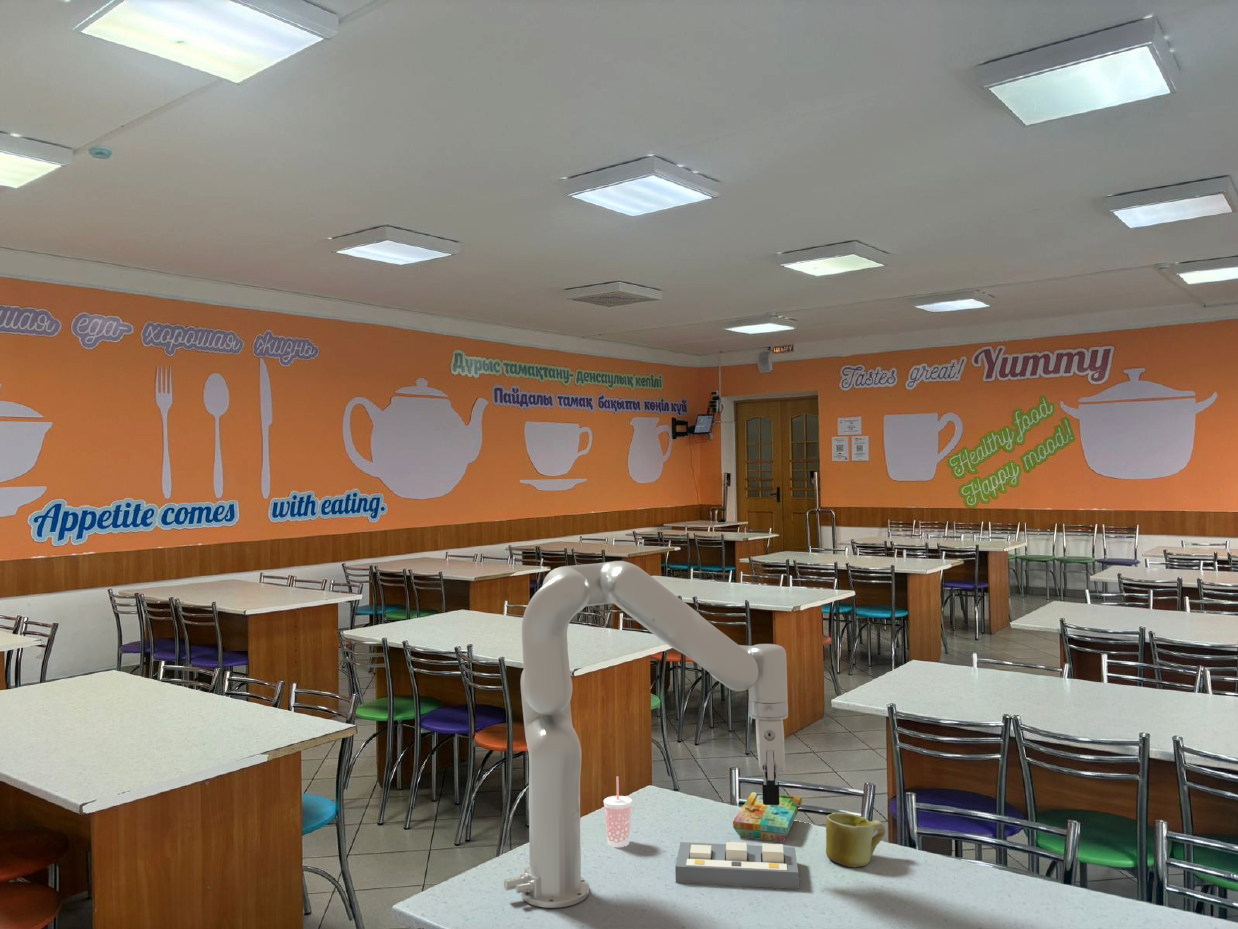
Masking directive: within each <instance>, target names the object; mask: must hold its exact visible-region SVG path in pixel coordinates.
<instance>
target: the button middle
mask: <svg viewBox="0 0 1238 929" xmlns="http://www.w3.org/2000/svg"><path fill="white" fill-rule="evenodd" d="M725 844H726V861H745V862H747V845H748V842H740V841H739V842H738V841H737V842H736V841H726V843H725Z"/></svg>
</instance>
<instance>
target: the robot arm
mask: <svg viewBox="0 0 1238 929" xmlns="http://www.w3.org/2000/svg"><path fill="white" fill-rule="evenodd" d="M608 604H614V605H615V606H616V607H618V608H619V609H620V610H622V611H623V612H624V613H626V614H627V615H628V616H629V617H631V618H632V619H633V620H634V621H635V622H637V623H639V624H640V625H641V626H643V627H644V628H645V629H646V630H648V631H649V632H650V633H652V635H654V636H655V637H657V638H658V639H659V640H661V641H662V642H664V643H665V644H666V645H667V646H669V647H671V648H672V649H674V650H676V651H677V652H679V653H681V654H682V655H684V656H686V657H688V658H689V659H690V660H692V661H693V662H694V663H695V664H697V665H699V666H700V667H701V668H703V669H704V670H706V671H707V672H708V673H709V675H711V677H712V678H714V679H715V680H716V681H717V682H719V683H720V684H722V685H723V686H725V687H726V688H727V689H729V690H732V691H735V692H743V691H747V690H748V706H749V707H748V714H749V718H751V719H753V720H755V735H756V736H755V739H756V741H755V742H756V752H757V760H758V766H759V767H758V768H759V771H760V772H762V775H763V776H762V780H763V781H761V782H762V783H761V786H762V787H761V789H762V790H761V791H762V792H761V793H763V804H764V805H779V795H780V782H779V780H778V778H779V776H778V774H779V773H778V772H779V771H780V772H781V773H784V772H786V758H785V757H786V756H785V755H786V753H785V730H784V720H786V719H788V718H789V705H788V704H789V703H788V702H789V700H788V697H789V696H788V670H787V668H788V667H787V666H788V664H787V653H786V652H787V650H786V649H785V648H784V647H783V646H782V645H779V644H776V643H775V644H773V643H758V644H754V645H743V644H742V645H741V644H738V643H737V642H735V641H734V640H732V639H731V638H730V637H729V636H728V635H726V633H724V632H722V631H721V630H720V629H718V628H717V627H715V626H714V625H713V624H712V623H711V622H710V621H708V620H707V619H706V618H704V617H703V615H701V614H700V613H699V612H697V610H695V609H694V608H693V607H691V606H690V605H689V604H687V603H686V601H683V600H682V599H681V598H680V597H678V596H677V595H676V594H674V593H673V592H672V591H670V589H668V588H667V587H665V586H664V585H663V584H661V583H660V581H658V580H657V579H655V578H654V577H653V576H651V575H650V574H649V573H648V572H646V571H645V570H643V568H641V567H640V566H638V565H635V564H633V563H632V562H628V561H624V560H613V561H606V562H599V563H588V564H587V563H586V564H585V563H584V564H576V565H575V564H574V565H564V566H559V567H557V568H553V569H552V570H551V571H549V572H548V573H547V574H546V576H545V577H544V579H543V581H542V586H541V587H540V588H539V589H538V590H537V591H536V592H535V593H534V594H533V596H532V597H531V598H530V600H529V602H528V604H527V606H526V608H525V610H524V613H523V617H522V621H521V622H522V623H521V640H522V641H521V643H522V644H521V645H522V661H523V670H522V672H521V674H520V694H521V706H522V715H523V716H522V717H523V726H524V727H523V728H524V735H525V741H526V746H527V751H528V764H529V766H528V767H529V772H528V774H529V775H528V776H529V777H528V818H529V820H528V821H529V822H528V823H529V824H528V825H529V827H528V829H529V830H528V831H529V832H528V833H529V835H528V836H529V837H528V838H529V866H528V867H524V873H521V874H520V876H517V877H511V878H506V879H504V880H503V885H504V891H506V892H507V891H508V892H509V891H511V890H515V892H516V894H520V895H521V898H522V899H523V900H524V901H525V902H526V903H528V904H530V905H531V906H535V907H538V908H546V909H547V908H550V909H557V908H565V907H566V908H567V907H569V906H574V905H576V904H578V903H580V902H582V901H584V900H585V899H586V898H587V897H588V895H589V893H590V884H589V882H588V880H586V879H585V878H584V877H582V876H581V874H582V872H581V870H582V868H581V867H582V866H581V864H582V863H581V861H582V860H581V858H582V856H581V853H582V852H581V850H582V849H581V770H582V747H581V741H580V738H579V735H578V734H577V731H576V730H575V728H574V726H573V721H572V720H573V718H572V708H571V699H572V695H573V690H574V689H573V688H574V687H573V680H572V675H571V668H570V660H569V650H568V648H569V647H568V644H569V643H568V628H569V624H570V623H571V621H572V619H573V618H574V617H575V616H576V615H577V614H578V613H579V612H581V611H583V610H584V608H586V607H592V606H601V605H608Z"/></svg>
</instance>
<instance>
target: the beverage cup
mask: <svg viewBox="0 0 1238 929" xmlns="http://www.w3.org/2000/svg"><path fill="white" fill-rule="evenodd" d="M619 777H620V776H617V775H616V779H615V780H616V795H611V796H608V797H606V798H604V799H603V806H604V812H605V823H606V825H605V827H606V837H607V838H606V839H607V845H608V846H609V847H613V848H625V847H627V846H628V845H629V844H630V833H631V830H630V829H631V812H632V810H631V809H632V807H631V806H632V805H633V799H632V798H630V797H629V796H624V795H620V793H619V792H620V784H619V783H620V781H619V779H620V778H619ZM624 846H625V847H624Z"/></svg>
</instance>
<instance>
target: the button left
mask: <svg viewBox="0 0 1238 929" xmlns="http://www.w3.org/2000/svg"><path fill="white" fill-rule="evenodd" d="M690 859H704V860H712V853H711V845H691V849H690Z"/></svg>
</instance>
